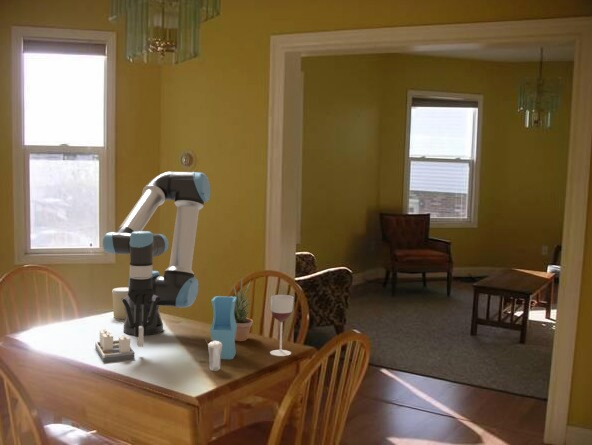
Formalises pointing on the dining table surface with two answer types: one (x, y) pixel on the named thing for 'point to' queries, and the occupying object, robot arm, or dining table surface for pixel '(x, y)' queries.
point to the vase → (224, 324)
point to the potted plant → (242, 315)
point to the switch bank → (113, 353)
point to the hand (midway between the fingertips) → (140, 345)
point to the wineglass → (281, 316)
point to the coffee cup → (119, 302)
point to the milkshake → (214, 355)
